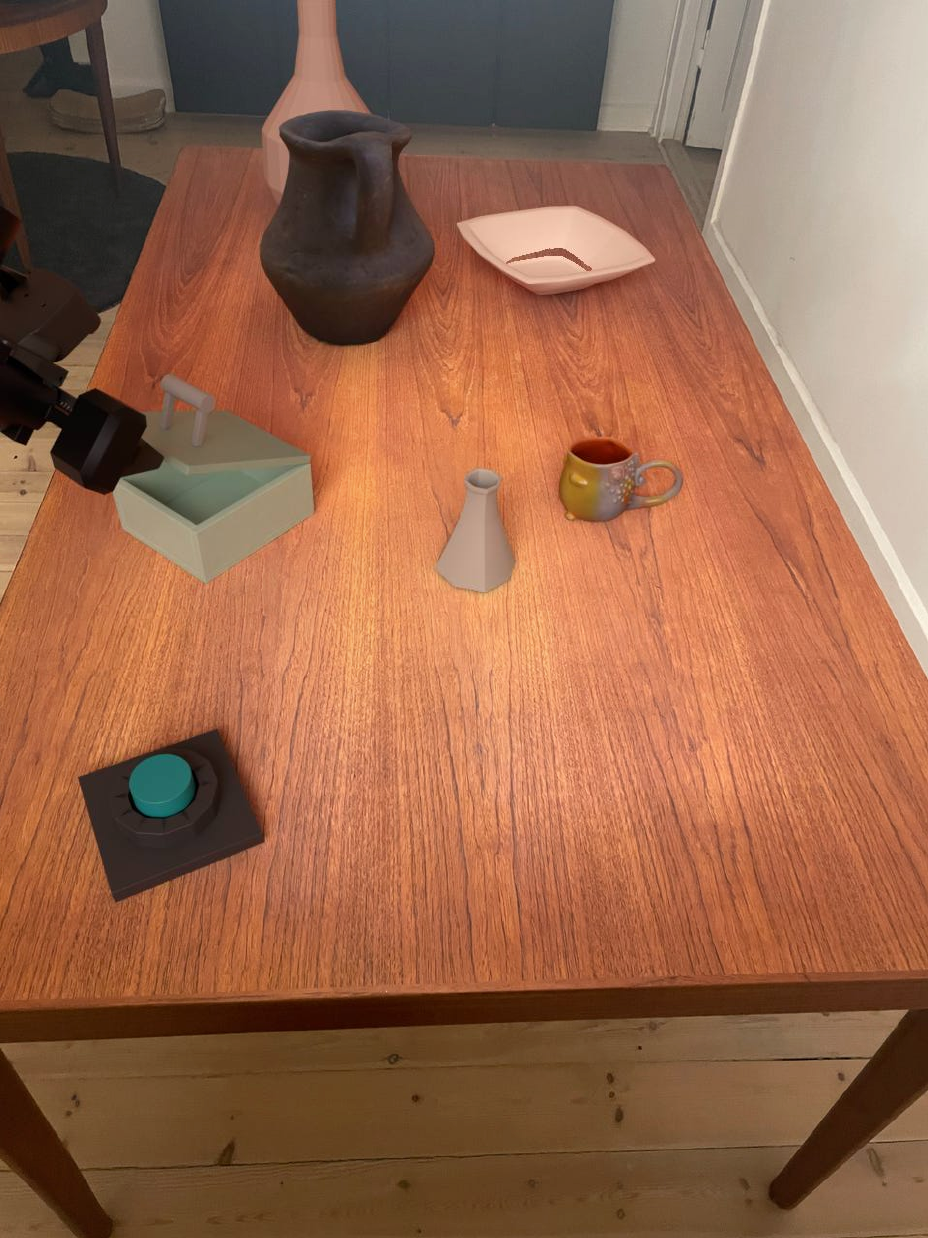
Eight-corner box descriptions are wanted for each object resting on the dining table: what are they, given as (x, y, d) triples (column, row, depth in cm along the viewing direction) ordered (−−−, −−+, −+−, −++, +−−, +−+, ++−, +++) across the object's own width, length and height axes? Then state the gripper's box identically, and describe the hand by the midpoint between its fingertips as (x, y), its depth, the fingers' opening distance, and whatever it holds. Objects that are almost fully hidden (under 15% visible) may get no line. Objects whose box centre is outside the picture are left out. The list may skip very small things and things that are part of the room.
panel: (115, 903, 58) (105, 879, 56) (81, 786, 65) (71, 761, 62) (264, 842, 62) (260, 818, 60) (219, 738, 68) (213, 712, 66)
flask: (528, 561, 85) (540, 473, 78) (488, 604, 80) (497, 515, 73) (463, 532, 87) (469, 444, 80) (420, 572, 83) (423, 483, 76)
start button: (142, 827, 60) (137, 812, 58) (127, 781, 62) (122, 766, 61) (202, 804, 61) (198, 789, 60) (185, 760, 64) (181, 745, 62)
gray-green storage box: (205, 584, 80) (196, 533, 76) (122, 529, 85) (108, 478, 81) (314, 513, 88) (311, 463, 84) (232, 466, 93) (225, 417, 89)
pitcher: (394, 281, 125) (395, 77, 108) (462, 356, 112) (475, 136, 94) (248, 303, 118) (223, 89, 101) (301, 385, 105) (283, 154, 87)
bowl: (440, 260, 131) (442, 220, 127) (576, 239, 139) (581, 200, 135) (516, 330, 117) (521, 287, 113) (662, 301, 126) (671, 260, 122)
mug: (555, 522, 89) (564, 466, 85) (557, 481, 94) (566, 426, 89) (677, 536, 89) (693, 480, 84) (673, 494, 94) (687, 439, 89)
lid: (187, 475, 72) (199, 410, 70) (95, 421, 77) (104, 358, 75) (309, 463, 84) (323, 407, 82) (224, 416, 89) (234, 362, 86)
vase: (253, 240, 132) (227, -6, 111) (286, 196, 145) (269, -31, 124) (371, 253, 131) (368, 8, 110) (394, 209, 144) (395, -19, 123)
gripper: (90, 297, 54) (250, 392, 68) (-79, 206, 61) (97, 309, 76) (7, 463, 55) (182, 523, 69) (-150, 353, 62) (37, 428, 76)
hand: (123, 439), depth 72 cm, fingers open, 9 cm apart
